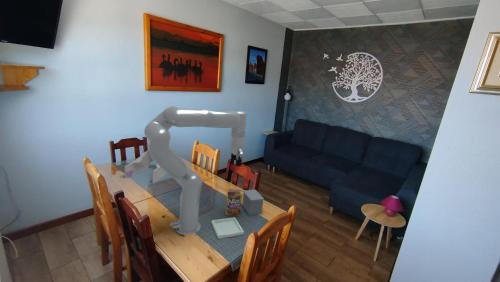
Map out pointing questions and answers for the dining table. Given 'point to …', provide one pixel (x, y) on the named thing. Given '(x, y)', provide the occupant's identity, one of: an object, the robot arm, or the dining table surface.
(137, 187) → the dining table surface
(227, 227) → the tray
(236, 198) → the candy box
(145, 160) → the casing
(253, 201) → the block
